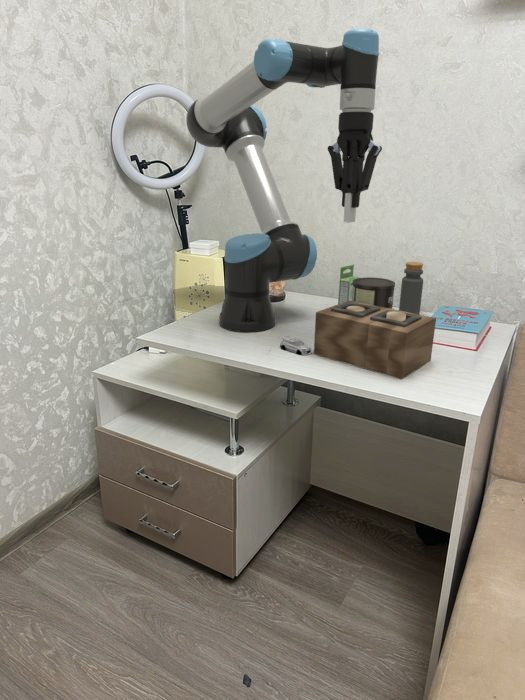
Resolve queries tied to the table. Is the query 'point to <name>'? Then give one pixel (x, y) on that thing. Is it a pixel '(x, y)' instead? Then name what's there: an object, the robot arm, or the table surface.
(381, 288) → the coffee can
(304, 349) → the toy car
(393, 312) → the dowel
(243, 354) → the table surface
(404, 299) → the bottle
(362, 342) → the socket block
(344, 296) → the ink box
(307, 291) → the table surface
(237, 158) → the robot arm
